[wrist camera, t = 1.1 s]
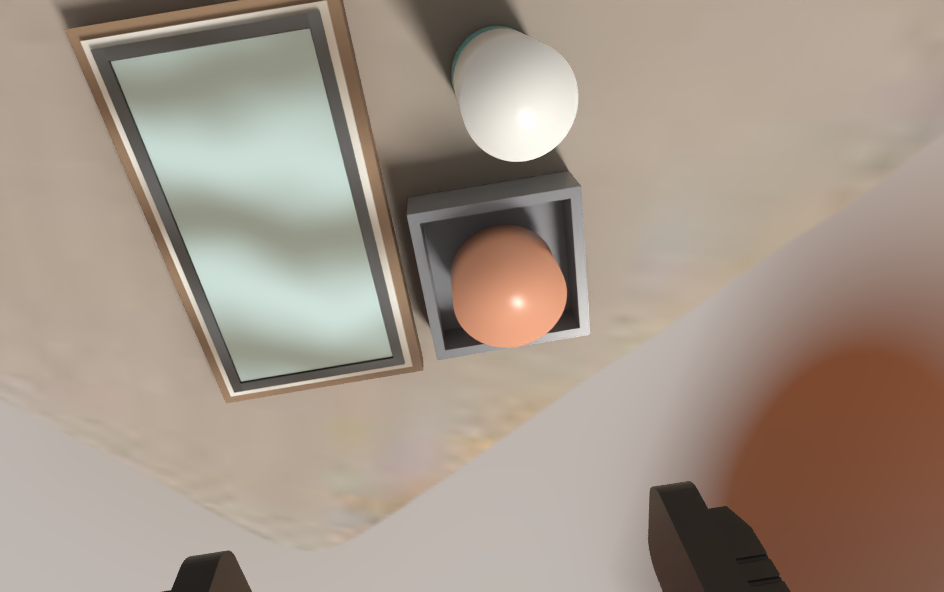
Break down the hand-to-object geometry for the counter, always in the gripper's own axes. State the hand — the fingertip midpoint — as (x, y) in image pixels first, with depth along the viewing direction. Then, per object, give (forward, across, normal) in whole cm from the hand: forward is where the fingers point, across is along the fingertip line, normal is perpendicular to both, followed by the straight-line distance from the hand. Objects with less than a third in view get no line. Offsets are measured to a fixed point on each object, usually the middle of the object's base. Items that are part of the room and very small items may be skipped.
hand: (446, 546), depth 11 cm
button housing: (+20, -3, +4) cm, 21 cm away
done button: (+18, -3, +4) cm, 19 cm away
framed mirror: (+20, +8, 0) cm, 22 cm away
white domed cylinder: (+20, -4, -5) cm, 21 cm away
